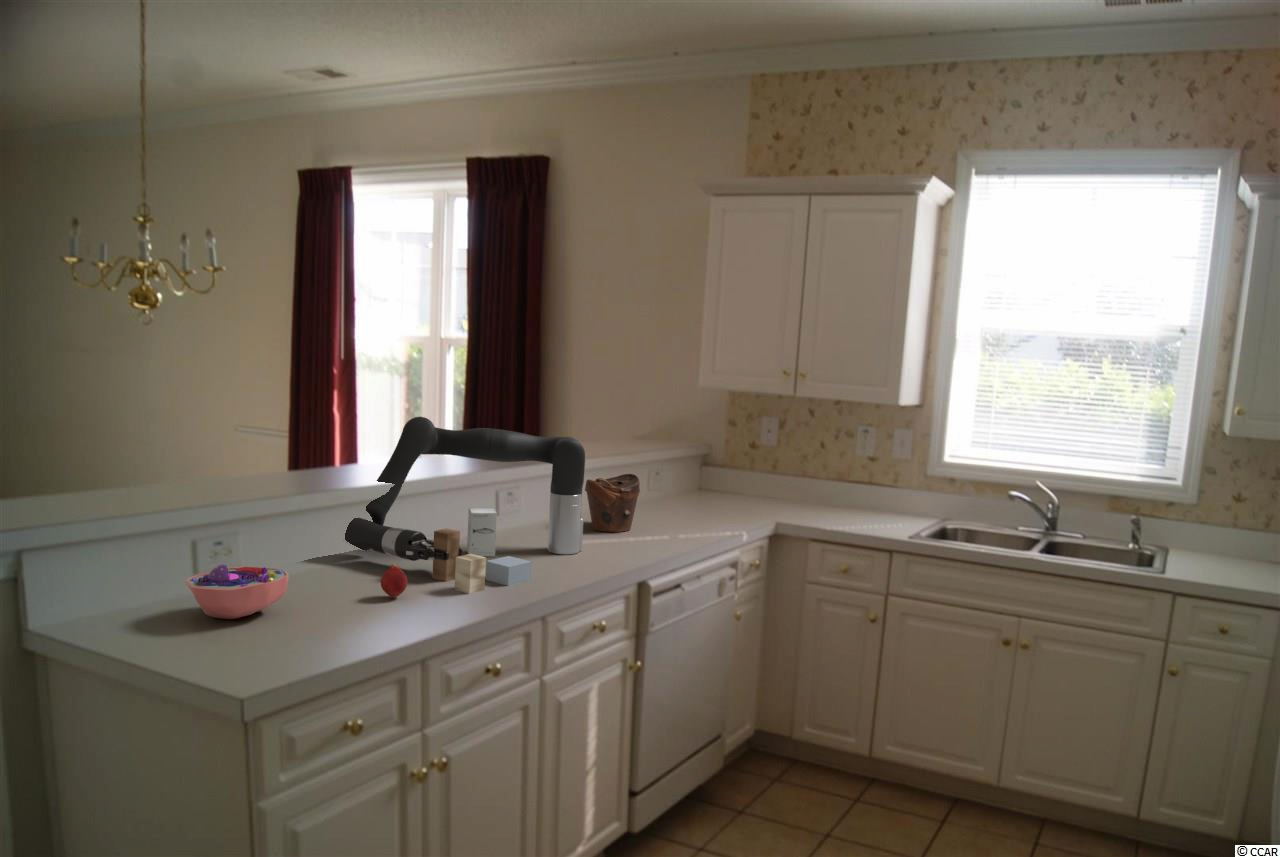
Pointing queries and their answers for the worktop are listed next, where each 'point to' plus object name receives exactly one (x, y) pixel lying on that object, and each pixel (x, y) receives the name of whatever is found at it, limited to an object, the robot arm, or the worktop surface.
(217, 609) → the cell model
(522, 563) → the base block
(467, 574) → the birch block
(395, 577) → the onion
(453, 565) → the walnut block
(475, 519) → the supplement box
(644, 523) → the worktop surface
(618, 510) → the brown wooden tapered pot
